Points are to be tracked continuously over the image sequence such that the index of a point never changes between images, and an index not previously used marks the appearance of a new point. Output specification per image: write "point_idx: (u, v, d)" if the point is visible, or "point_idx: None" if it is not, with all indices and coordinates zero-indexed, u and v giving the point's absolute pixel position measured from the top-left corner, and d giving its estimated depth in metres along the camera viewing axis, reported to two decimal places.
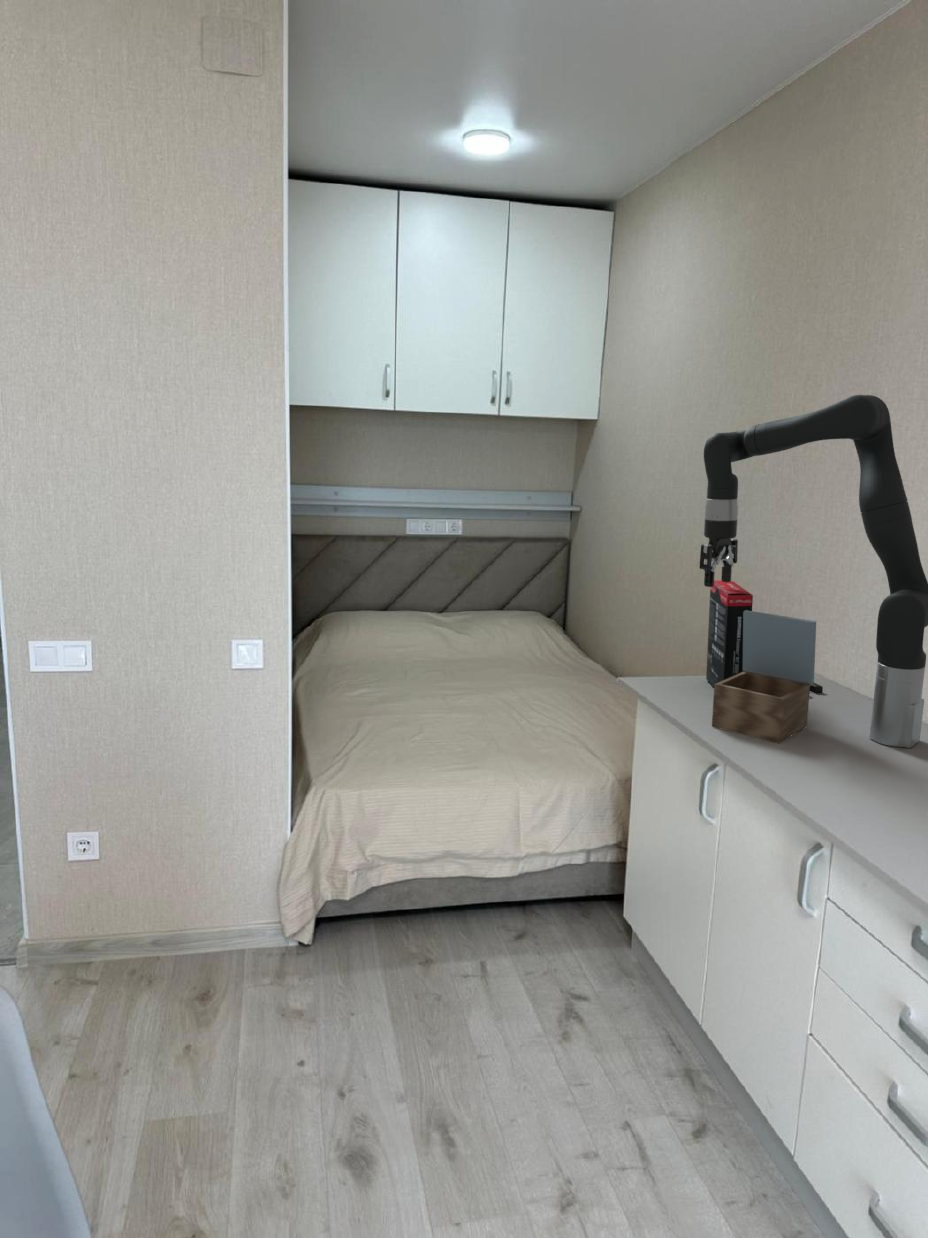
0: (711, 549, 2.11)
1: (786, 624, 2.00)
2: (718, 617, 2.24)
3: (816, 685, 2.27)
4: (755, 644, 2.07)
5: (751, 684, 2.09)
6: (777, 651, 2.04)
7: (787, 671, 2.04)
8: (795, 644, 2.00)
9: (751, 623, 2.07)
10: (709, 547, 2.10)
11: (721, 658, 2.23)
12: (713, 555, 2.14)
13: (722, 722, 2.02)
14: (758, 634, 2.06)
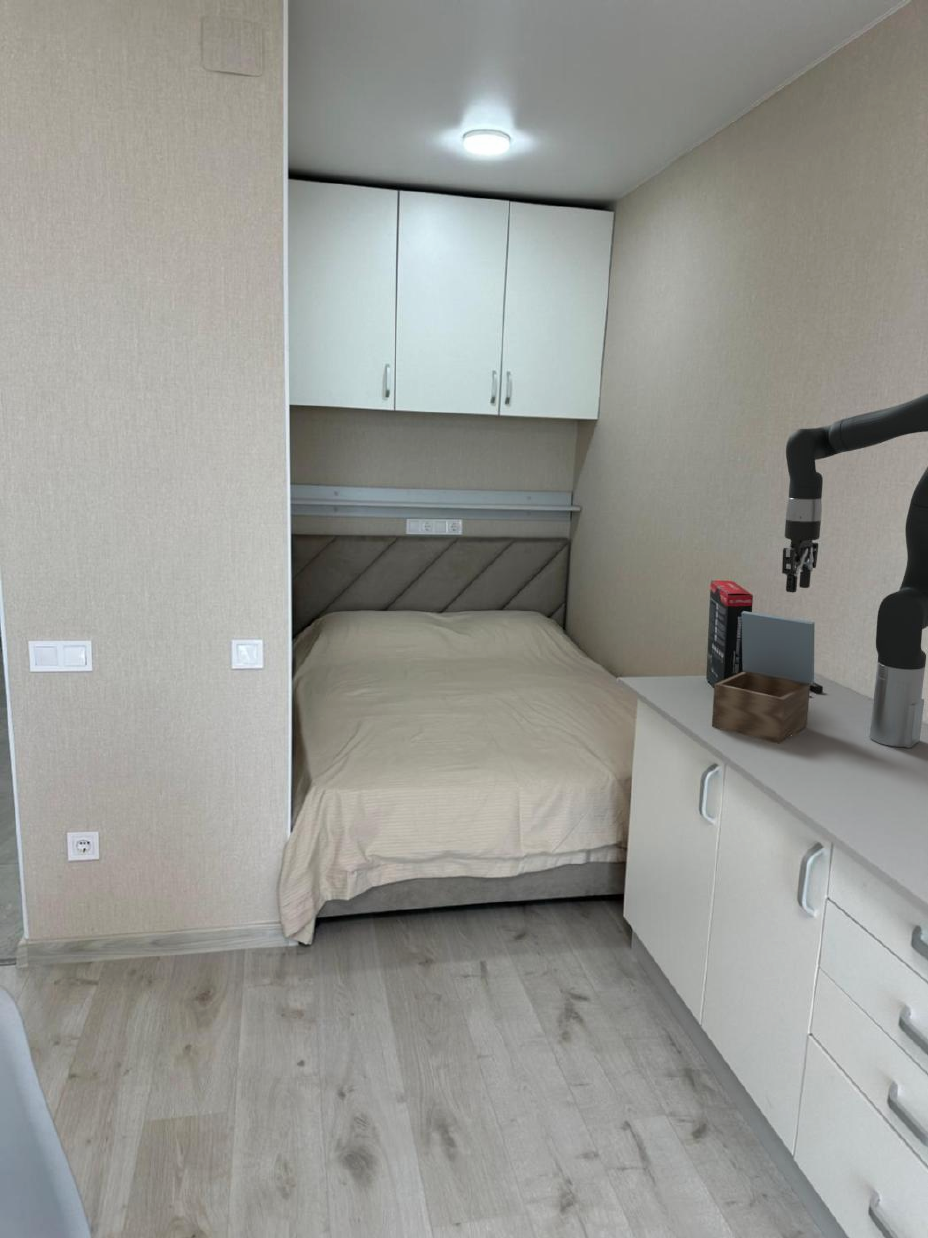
0: (794, 553, 2.00)
1: (784, 625, 2.00)
2: (718, 617, 2.24)
3: (816, 685, 2.27)
4: (754, 645, 2.07)
5: (751, 684, 2.09)
6: (776, 652, 2.04)
7: (787, 672, 2.03)
8: (794, 645, 2.00)
9: (749, 624, 2.06)
10: (792, 551, 2.00)
11: (721, 658, 2.23)
12: (795, 558, 2.04)
13: (722, 722, 2.02)
14: (757, 635, 2.06)
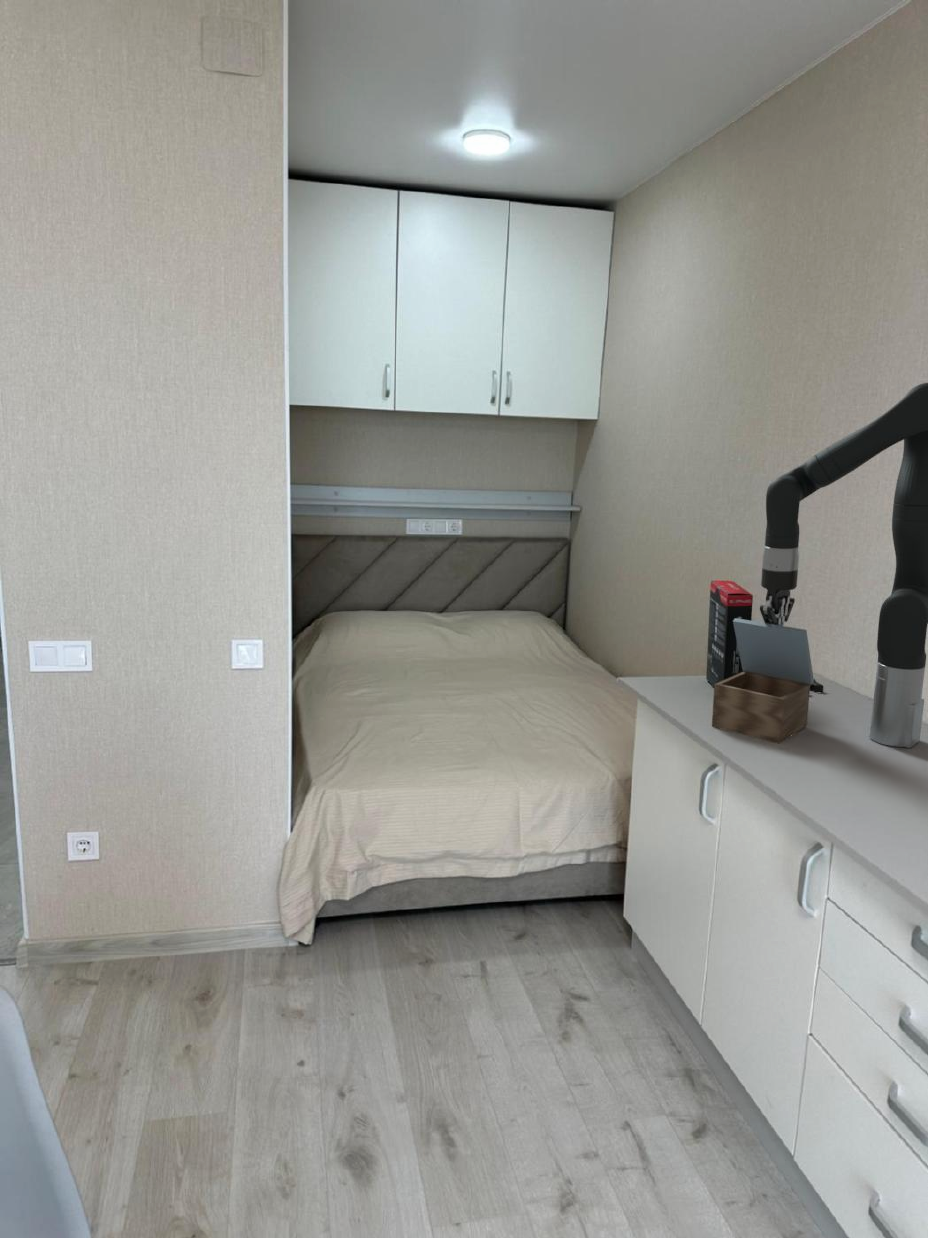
0: (772, 610, 1.96)
1: (777, 633, 1.98)
2: (718, 617, 2.24)
3: (817, 684, 2.28)
4: (750, 649, 2.06)
5: (751, 684, 2.09)
6: (773, 655, 2.03)
7: (786, 673, 2.03)
8: (789, 650, 1.99)
9: (742, 631, 2.04)
10: (769, 611, 1.96)
11: (721, 658, 2.23)
12: None
13: (722, 722, 2.02)
14: (751, 641, 2.04)
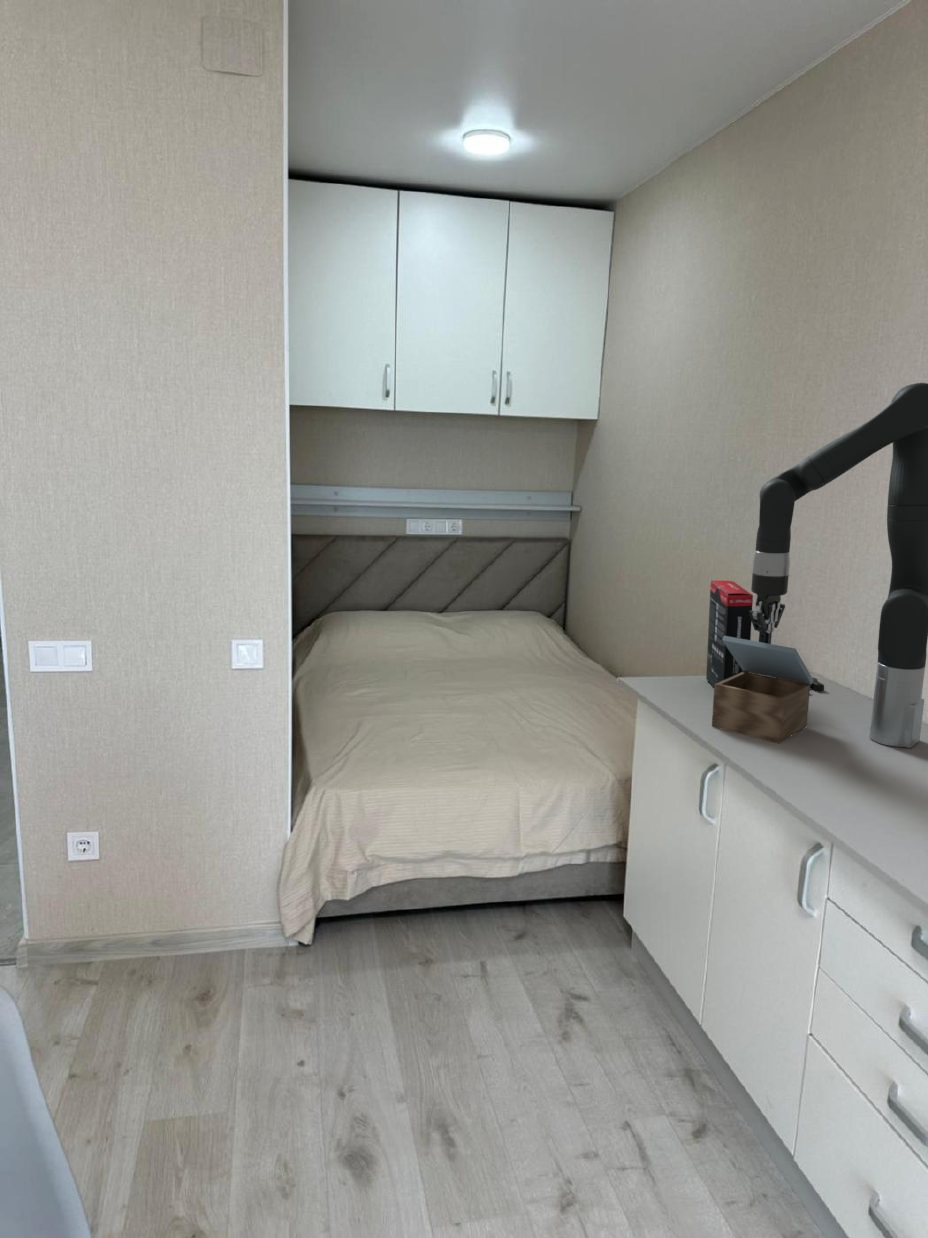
0: (761, 616, 1.93)
1: (767, 651, 1.96)
2: (718, 617, 2.24)
3: (818, 683, 2.29)
4: (745, 658, 2.05)
5: (751, 684, 2.09)
6: (768, 664, 2.02)
7: (785, 675, 2.03)
8: (782, 662, 1.97)
9: (734, 647, 2.02)
10: (759, 616, 1.92)
11: (721, 658, 2.23)
12: None
13: (722, 722, 2.02)
14: (744, 653, 2.02)
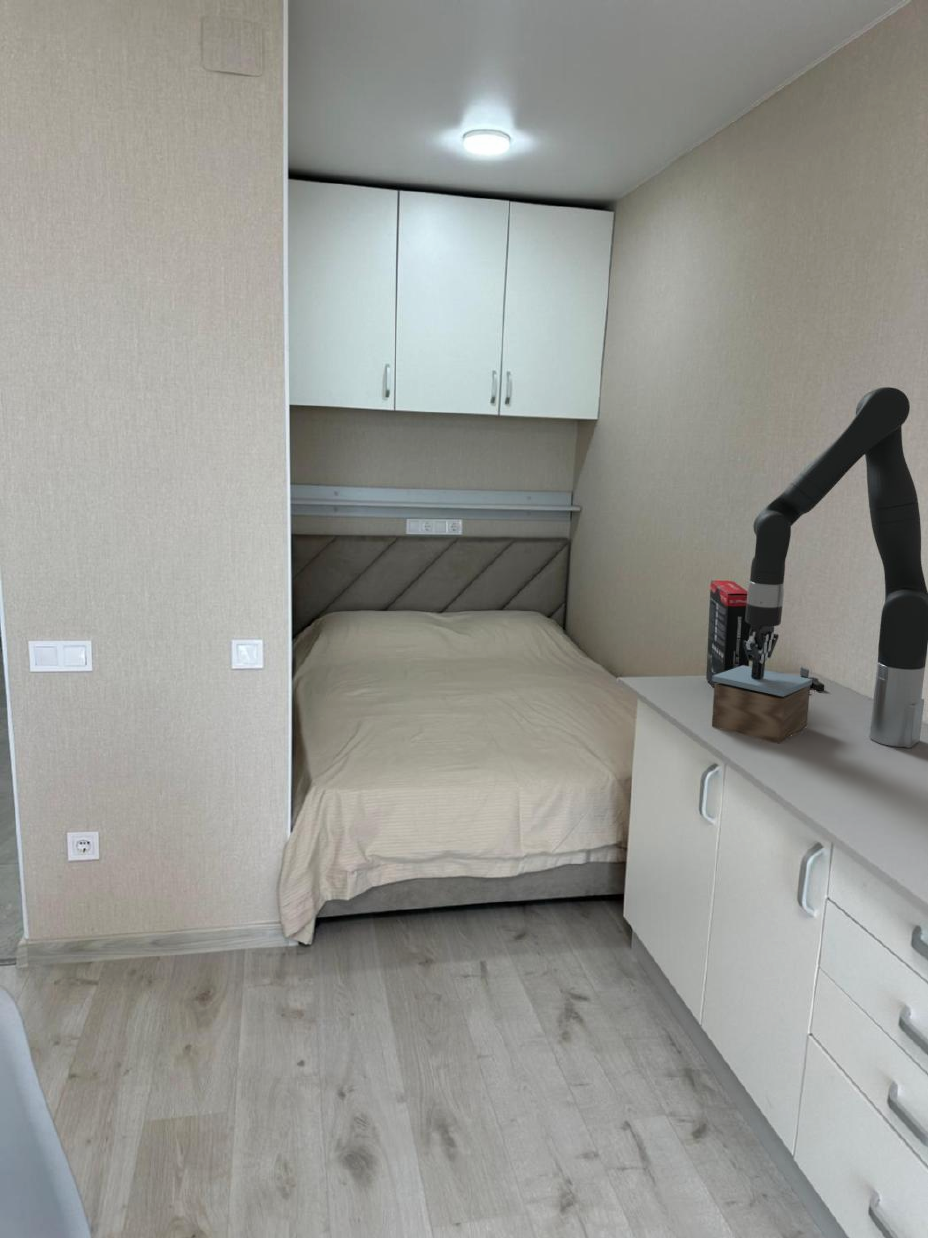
0: (755, 646, 1.93)
1: None
2: (718, 617, 2.24)
3: (818, 683, 2.29)
4: None
5: None
6: None
7: None
8: None
9: None
10: (752, 647, 1.93)
11: (721, 658, 2.23)
12: None
13: (722, 722, 2.02)
14: None
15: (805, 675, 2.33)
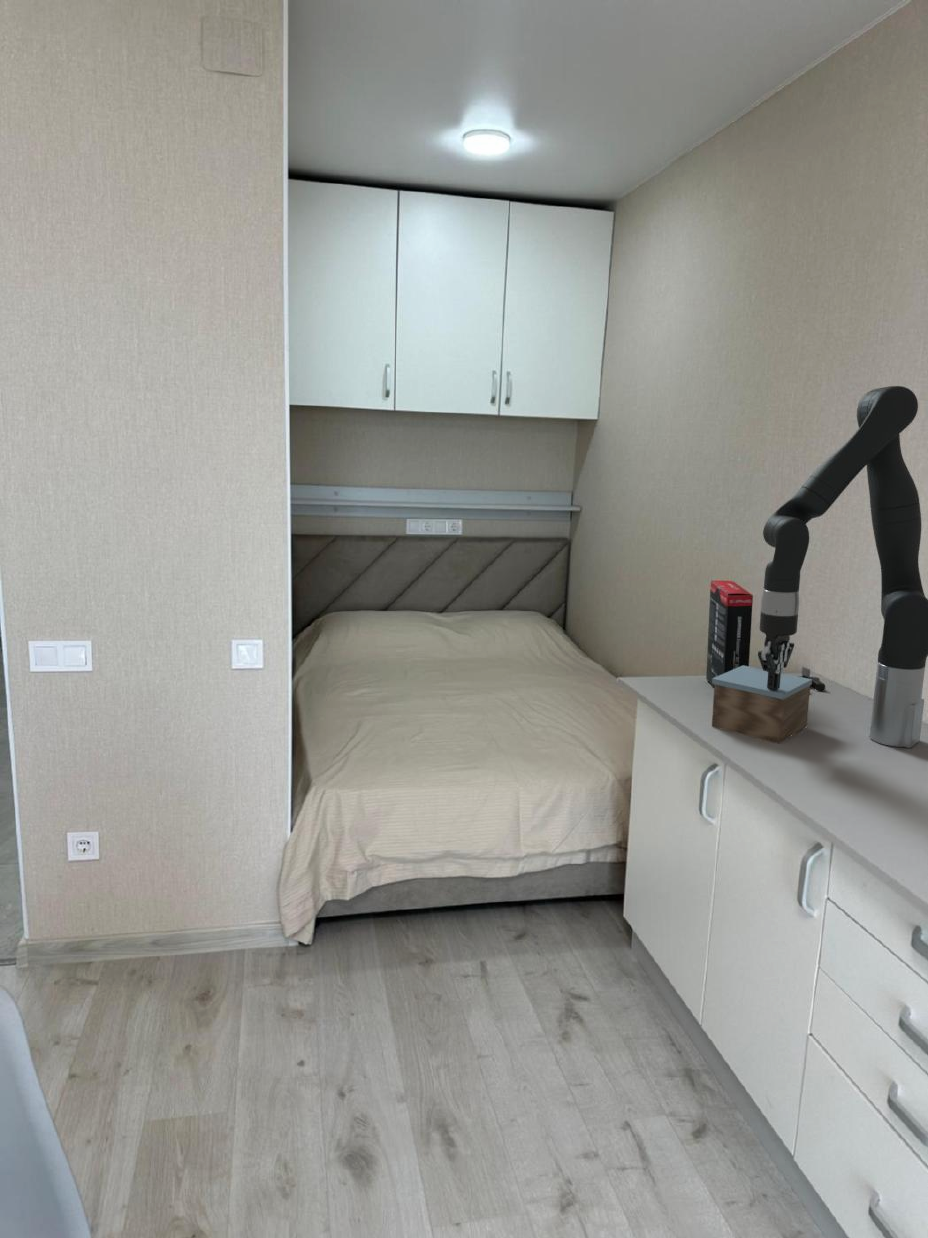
0: (770, 656, 1.87)
1: None
2: (718, 617, 2.24)
3: (819, 683, 2.29)
4: None
5: None
6: None
7: None
8: None
9: None
10: (768, 657, 1.86)
11: (721, 658, 2.23)
12: None
13: (722, 722, 2.02)
14: None
15: (806, 674, 2.33)
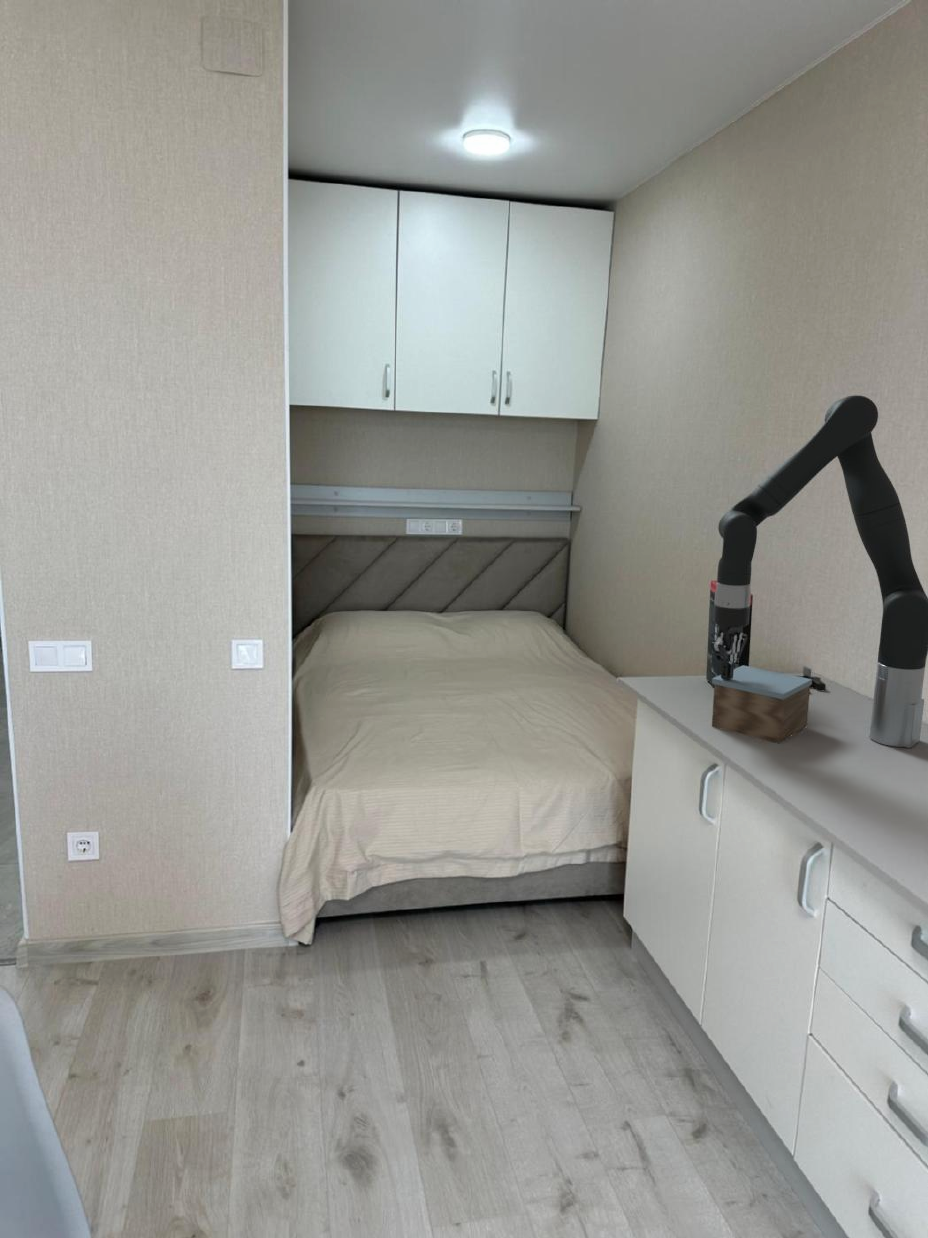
0: (723, 647, 1.94)
1: None
2: None
3: (819, 682, 2.29)
4: None
5: None
6: None
7: None
8: None
9: None
10: (720, 648, 1.93)
11: None
12: None
13: (722, 722, 2.02)
14: None
15: (807, 674, 2.34)
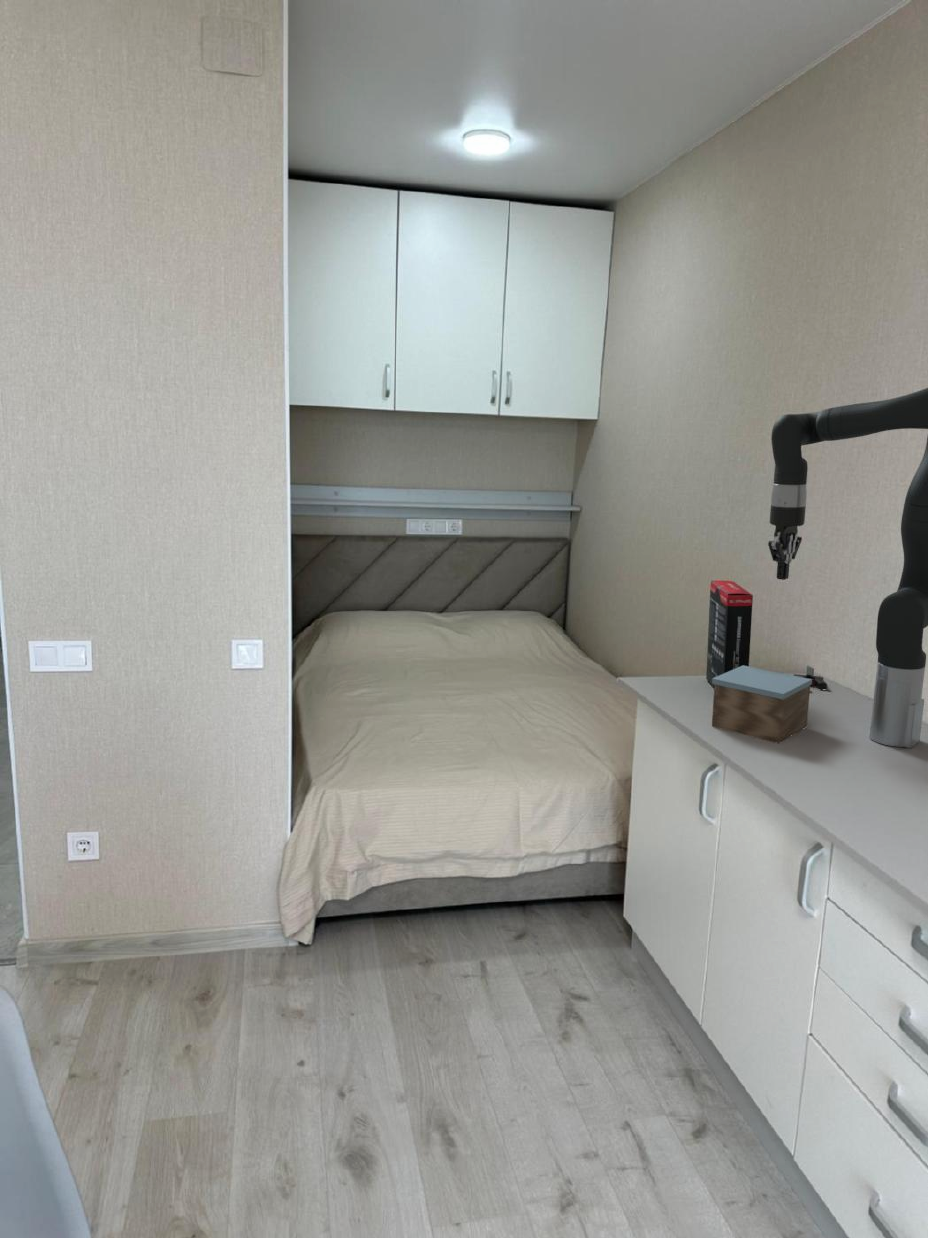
0: (780, 545, 2.01)
1: None
2: (718, 617, 2.24)
3: (821, 682, 2.30)
4: None
5: None
6: None
7: None
8: None
9: None
10: (777, 546, 2.00)
11: (721, 658, 2.23)
12: (782, 546, 2.04)
13: (722, 722, 2.02)
14: None
15: (810, 673, 2.34)
